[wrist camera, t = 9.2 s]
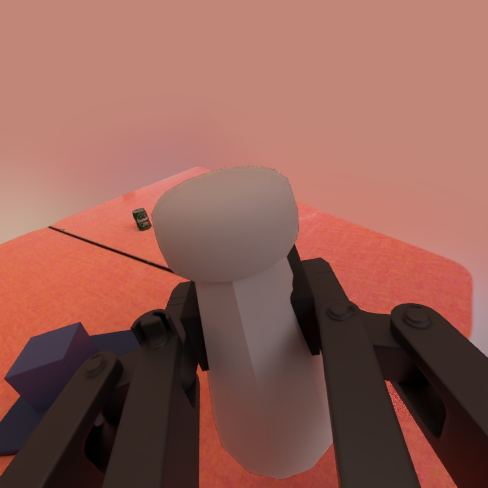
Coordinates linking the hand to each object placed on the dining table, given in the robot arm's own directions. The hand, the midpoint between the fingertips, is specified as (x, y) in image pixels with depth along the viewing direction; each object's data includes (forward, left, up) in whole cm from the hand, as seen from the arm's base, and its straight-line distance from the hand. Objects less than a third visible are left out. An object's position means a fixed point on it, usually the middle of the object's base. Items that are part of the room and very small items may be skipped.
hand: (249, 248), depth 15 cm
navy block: (+19, -3, -12) cm, 22 cm away
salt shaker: (0, +5, -8) cm, 10 cm away
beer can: (+26, -42, -13) cm, 51 cm away
